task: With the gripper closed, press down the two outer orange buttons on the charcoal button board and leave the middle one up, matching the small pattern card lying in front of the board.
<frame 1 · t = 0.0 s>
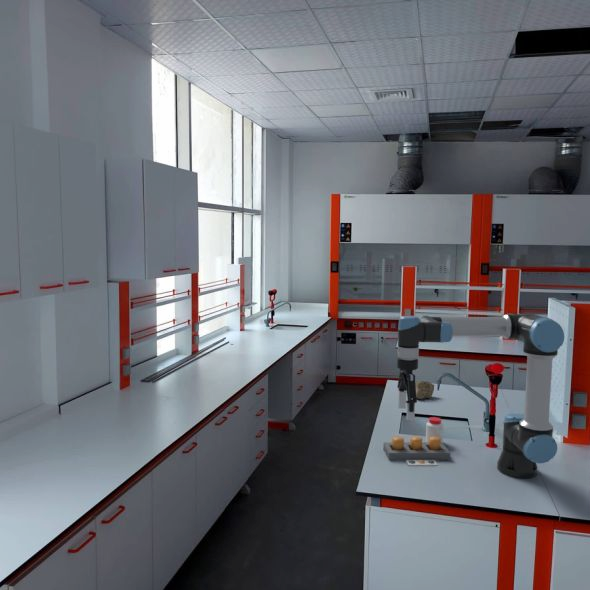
hand: (406, 413, 207), 28 cm above the worktop, fingers open, 13 cm apart
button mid: (416, 443, 240), point 5 cm above the worktop, slide at 0.0 cm
board: (415, 454, 241), on the worktop
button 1: (397, 443, 240), point 5 cm above the worktop, slide at 0.0 cm
rock: (424, 398, 325), on the worktop
pattern card: (421, 463, 231), on the worktop
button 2: (434, 443, 240), point 5 cm above the worktop, slide at 0.0 cm
pill bottle: (434, 442, 255), on the worktop
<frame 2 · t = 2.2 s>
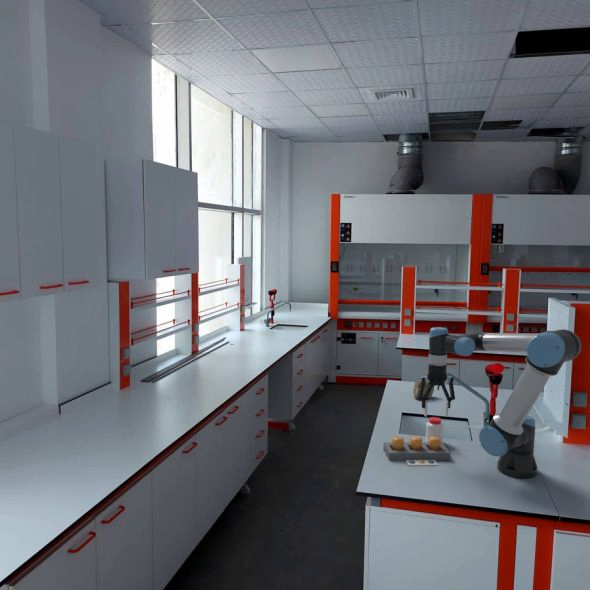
hand: (435, 415, 239), 17 cm above the worktop, fingers open, 8 cm apart
nothing on the worktop moved.
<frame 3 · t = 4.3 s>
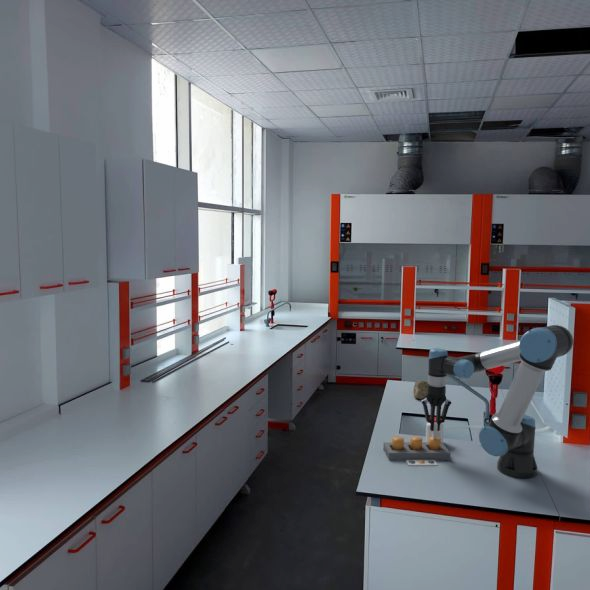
hand: (434, 437, 240), 7 cm above the worktop, fingers closed
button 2: (434, 443, 240), point 5 cm above the worktop, slide at 0.0 cm, touching gripper
everything else where it was.
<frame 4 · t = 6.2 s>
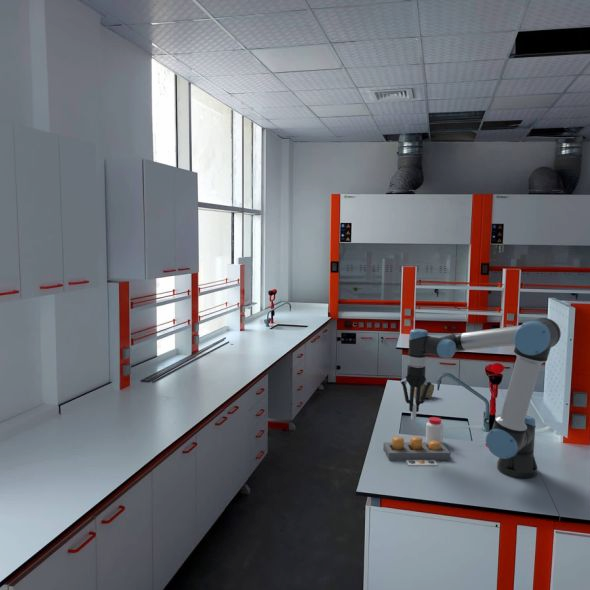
hand: (413, 418, 240), 16 cm above the worktop, fingers closed
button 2: (434, 447, 241), point 3 cm above the worktop, slide at 1.8 cm
everything else where it was.
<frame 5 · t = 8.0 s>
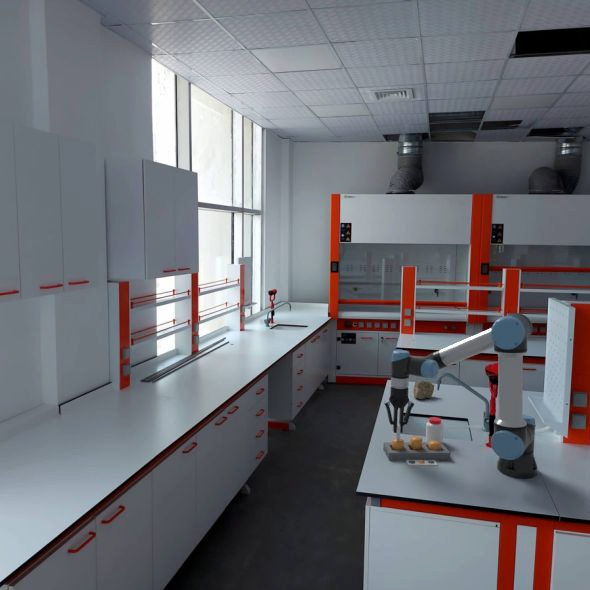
hand: (397, 439, 240), 6 cm above the worktop, fingers closed
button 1: (397, 445, 240), point 4 cm above the worktop, slide at 0.8 cm, touching gripper
everything else where it was.
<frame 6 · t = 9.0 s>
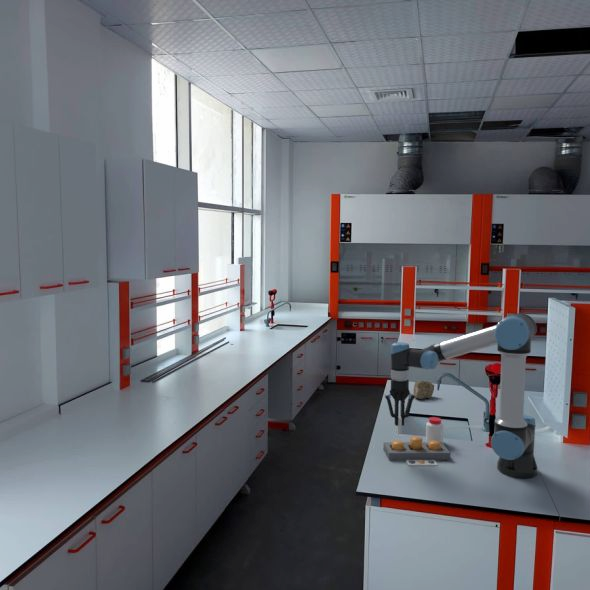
hand: (399, 432, 239), 10 cm above the worktop, fingers closed
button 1: (397, 447, 240), point 3 cm above the worktop, slide at 1.8 cm
everything else where it was.
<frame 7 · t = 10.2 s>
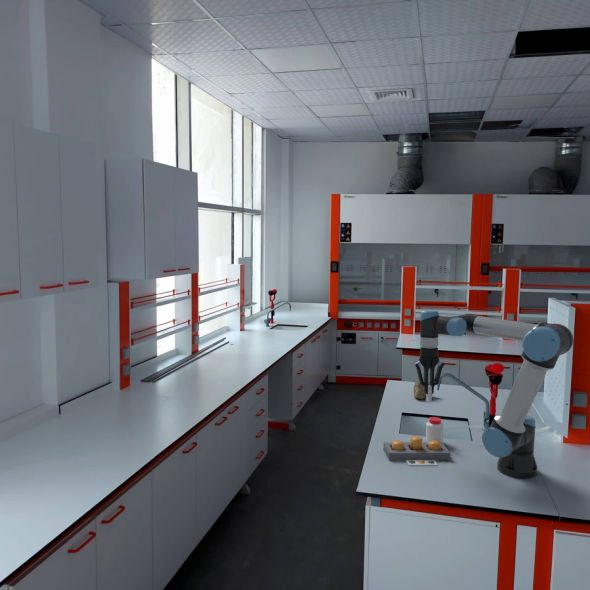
hand: (428, 401, 238), 24 cm above the worktop, fingers closed
nothing on the worktop moved.
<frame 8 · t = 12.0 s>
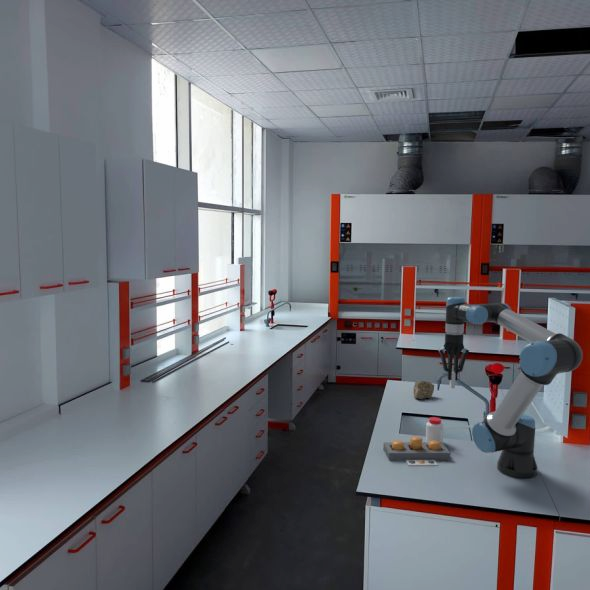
hand: (452, 387, 239), 29 cm above the worktop, fingers closed
nothing on the worktop moved.
at the end: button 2 slide at 1.8 cm; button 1 slide at 1.8 cm; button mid slide at 0.0 cm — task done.
